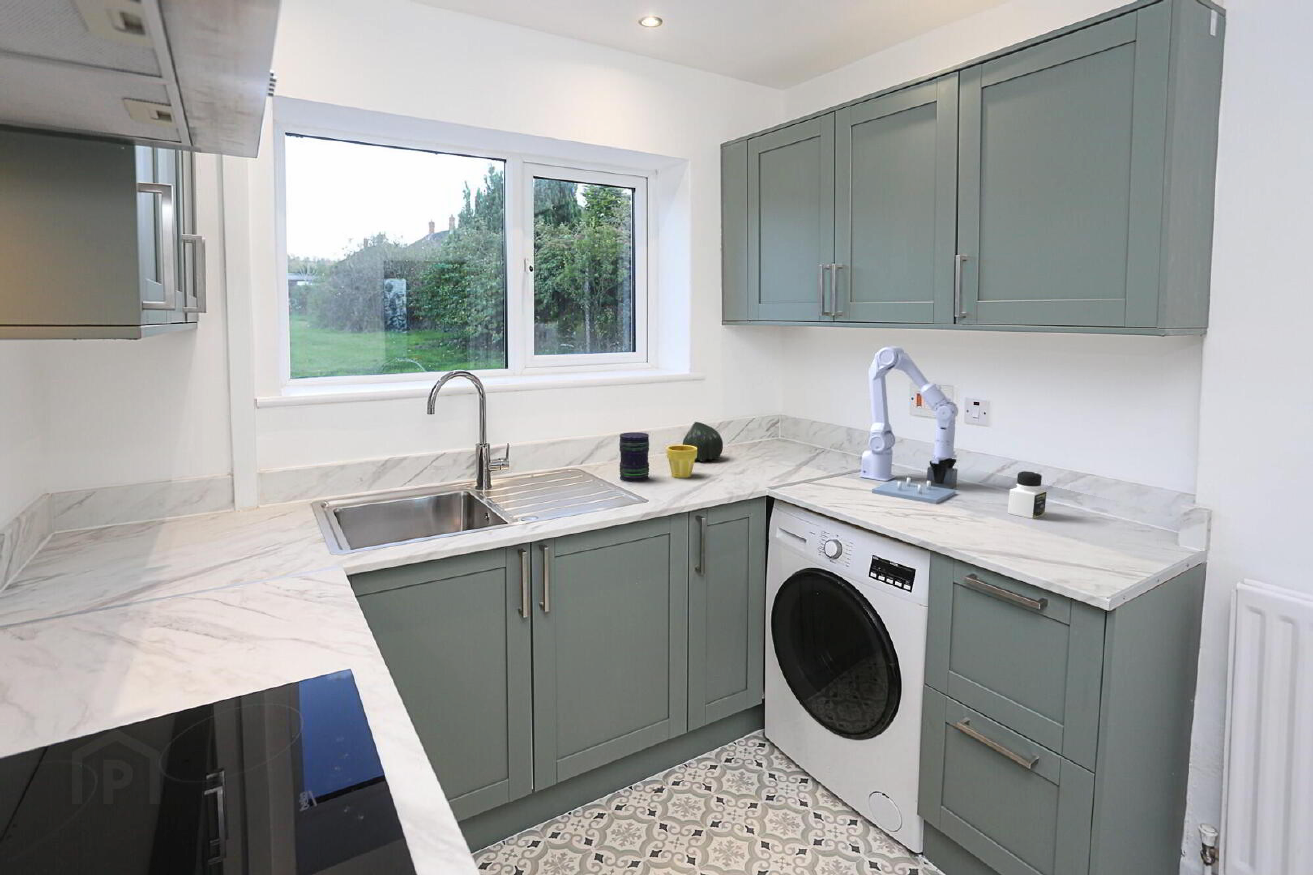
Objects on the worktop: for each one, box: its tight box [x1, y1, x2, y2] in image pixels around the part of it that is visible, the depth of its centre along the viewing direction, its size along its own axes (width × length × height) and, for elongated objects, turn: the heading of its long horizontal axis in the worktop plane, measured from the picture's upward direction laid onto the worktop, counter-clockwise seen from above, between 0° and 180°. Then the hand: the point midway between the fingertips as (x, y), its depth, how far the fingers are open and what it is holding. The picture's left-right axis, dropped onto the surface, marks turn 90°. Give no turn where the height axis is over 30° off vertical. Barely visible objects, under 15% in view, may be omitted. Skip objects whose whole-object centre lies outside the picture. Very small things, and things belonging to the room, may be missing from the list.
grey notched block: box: [925, 465, 959, 490], centre depth 243 cm, size 8×4×6 cm, turn 49°
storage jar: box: [619, 432, 650, 483], centre depth 250 cm, size 10×10×15 cm
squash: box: [682, 421, 724, 462], centre depth 282 cm, size 14×15×15 cm
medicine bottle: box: [1007, 470, 1047, 520], centre depth 210 cm, size 7×7×12 cm
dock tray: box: [871, 477, 957, 505], centre depth 233 cm, size 20×16×4 cm
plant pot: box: [666, 444, 697, 479], centre depth 256 cm, size 10×10×10 cm
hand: (941, 482), depth 243 cm, fingers closed on grey notched block, 4 cm apart
